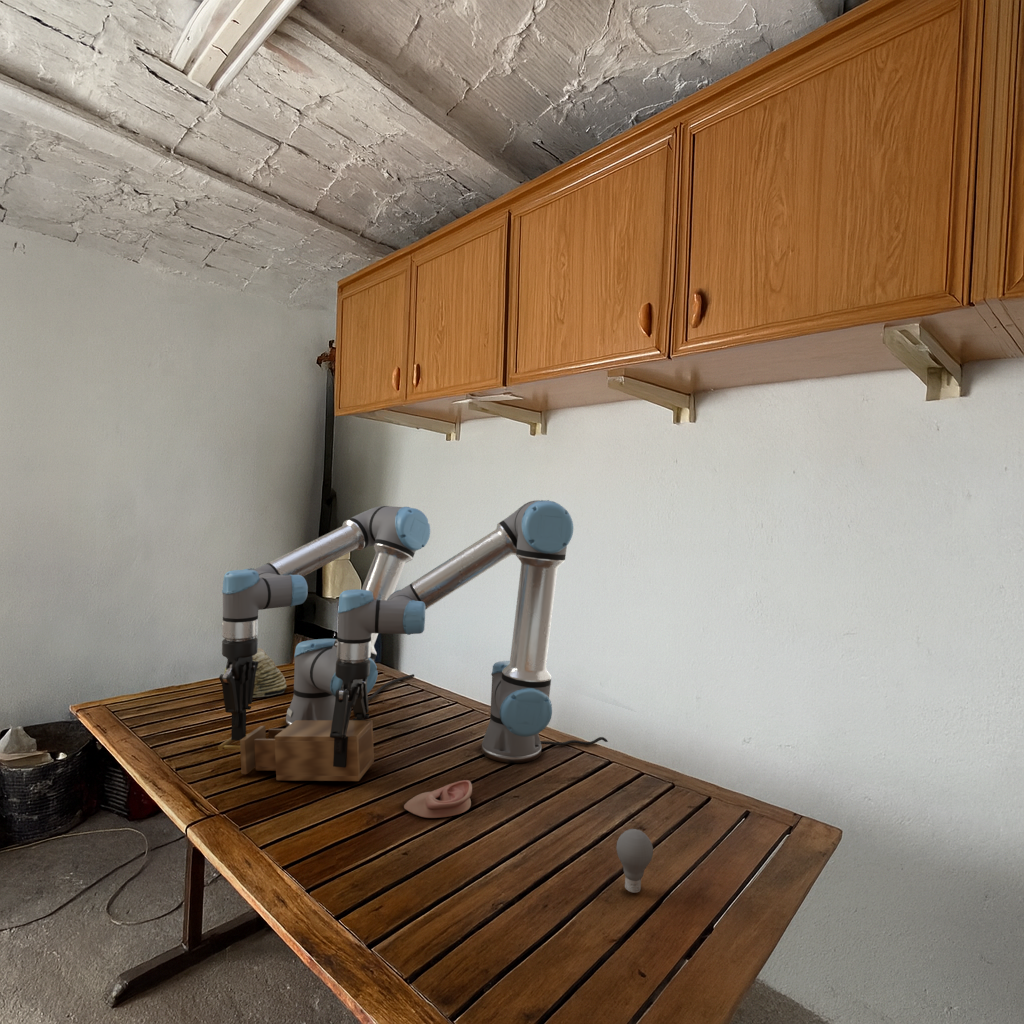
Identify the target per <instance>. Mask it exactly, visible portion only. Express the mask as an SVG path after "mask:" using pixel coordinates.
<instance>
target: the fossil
mask: <svg viewBox="0 0 1024 1024" xmlns="http://www.w3.org/2000/svg"><path fill="white" fill-rule="evenodd" d="M252 657H253V661H258V667H257V670H256V676H255V683H254V691H253V698H264V697H271V696H275V695H281V694H284V693H285V691H286V689H287V687H288V686H287V680H286V678H285V676H284V674H283V673H282V672H281V669H279V668H278V667H277V665H276V663H275V662H274V660H273V659H272V658H271V657H270V656H269V655H268V654H267V653H266V652H265V650H264V649H263V648H260V647H258V650H257V653H256V654H255V655H253V656H252ZM226 671H227V669H226V667H225V668H224V671H223V674H225V672H226Z"/></svg>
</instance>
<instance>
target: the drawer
mask: <svg viewBox="0 0 1024 1024" xmlns="http://www.w3.org/2000/svg"><path fill="white" fill-rule="evenodd" d="M284 729H285V728H268V732H267V734H268V738H267V735H266V731H267V730H266V725H259V726H258V727H257V728H255V729H254V730H252V731H251V732H250V733H248V734H246V736H245V737H244V738H242V739H241V740H240V741H239V745H232V744H233V743H235V742H237V740H231V737H229V738H228V739H226V740H225V741H224V742H222V743H221V744H219V745H217V750H218V751H224V750H239V751H240V766H241V767H240V771H241V773H240V774H241V775H247V774H248V773H250V772H251V771H252V770H254V769H255V771H267V772H268V771H274V772H276V759H275V736H276V735H277V734H278V733H280V732H281V731H282V730H284Z"/></svg>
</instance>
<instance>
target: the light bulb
mask: <svg viewBox="0 0 1024 1024" xmlns="http://www.w3.org/2000/svg"><path fill="white" fill-rule="evenodd" d="M615 849H616V854H617V857H618V859H619V861H620V863H621V865H622V867H623V873H624V874H623V875H624V876H625V878H624V888H625V890H627V891H628V892H630V893H634V894H635V893H639V892H640V891H641V889H642V887H641V886H642V879H643V877H644V875H645V871H646V868H647V867H648V866H649V864H650V863H651V861H652V859H653V855H654V847H653V843H652V841H651V838H649V836H648V835H647V834H646V833H645V832H643V831H642V830H641V829H636V828H629V829H627V830H625V831H623V832H622V833H621V834H620V835H619V837H618V839H617V841H616V847H615Z"/></svg>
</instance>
